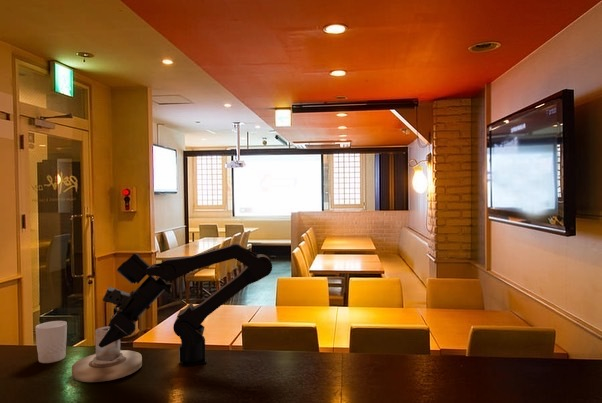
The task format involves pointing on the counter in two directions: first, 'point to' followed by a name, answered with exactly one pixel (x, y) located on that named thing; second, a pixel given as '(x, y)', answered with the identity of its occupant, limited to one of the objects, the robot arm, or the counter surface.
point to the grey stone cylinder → (106, 350)
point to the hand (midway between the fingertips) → (101, 341)
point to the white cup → (51, 341)
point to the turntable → (106, 368)
